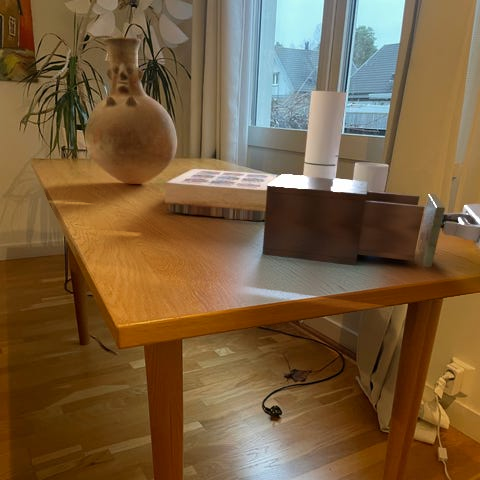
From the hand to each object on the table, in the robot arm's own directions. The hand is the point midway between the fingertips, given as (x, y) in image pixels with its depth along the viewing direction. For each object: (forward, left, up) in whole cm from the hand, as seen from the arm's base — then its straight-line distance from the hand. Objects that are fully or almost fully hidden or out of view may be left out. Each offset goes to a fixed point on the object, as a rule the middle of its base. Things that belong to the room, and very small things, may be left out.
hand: (440, 222), depth 75 cm
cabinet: (+19, 0, -7) cm, 21 cm away
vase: (+74, -44, -7) cm, 87 cm away
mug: (+11, -26, -7) cm, 29 cm away
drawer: (+5, 0, -6) cm, 8 cm away
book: (+44, -28, -7) cm, 53 cm away
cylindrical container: (+22, -30, -7) cm, 38 cm away
